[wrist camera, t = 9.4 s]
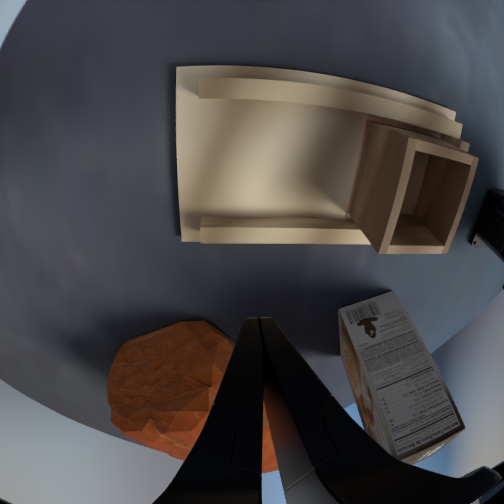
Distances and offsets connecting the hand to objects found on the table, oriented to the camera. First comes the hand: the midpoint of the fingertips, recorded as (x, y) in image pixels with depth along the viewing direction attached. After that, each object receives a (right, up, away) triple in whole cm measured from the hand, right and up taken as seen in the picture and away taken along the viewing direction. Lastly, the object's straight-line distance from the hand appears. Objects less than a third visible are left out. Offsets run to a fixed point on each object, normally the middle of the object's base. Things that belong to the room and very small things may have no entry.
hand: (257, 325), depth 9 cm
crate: (+10, +8, +9) cm, 16 cm away
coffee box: (+12, -6, +20) cm, 24 cm away
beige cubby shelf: (+5, +8, +9) cm, 14 cm away
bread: (-4, -15, +25) cm, 29 cm away
